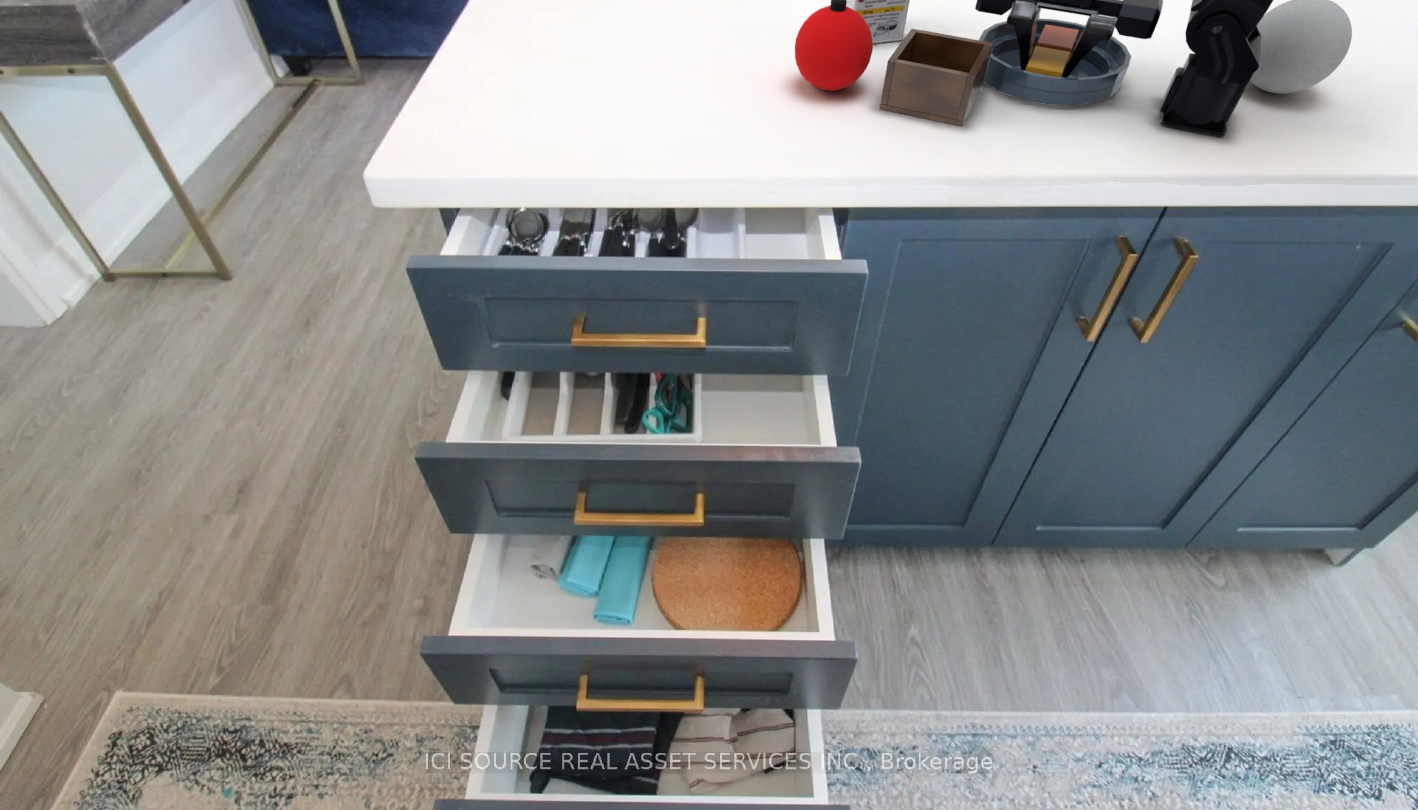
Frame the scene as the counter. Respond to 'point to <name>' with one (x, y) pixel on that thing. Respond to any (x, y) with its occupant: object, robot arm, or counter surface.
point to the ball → (1301, 45)
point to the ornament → (833, 47)
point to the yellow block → (1048, 61)
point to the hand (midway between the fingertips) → (1042, 79)
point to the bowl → (1083, 86)
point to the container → (882, 17)
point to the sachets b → (1057, 38)
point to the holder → (935, 76)
